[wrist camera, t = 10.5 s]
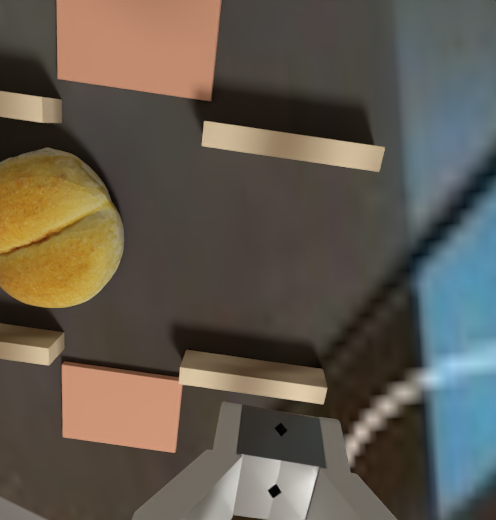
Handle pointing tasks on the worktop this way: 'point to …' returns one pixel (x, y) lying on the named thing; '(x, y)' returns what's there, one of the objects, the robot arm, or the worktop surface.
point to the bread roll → (56, 229)
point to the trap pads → (147, 80)
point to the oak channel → (194, 362)
